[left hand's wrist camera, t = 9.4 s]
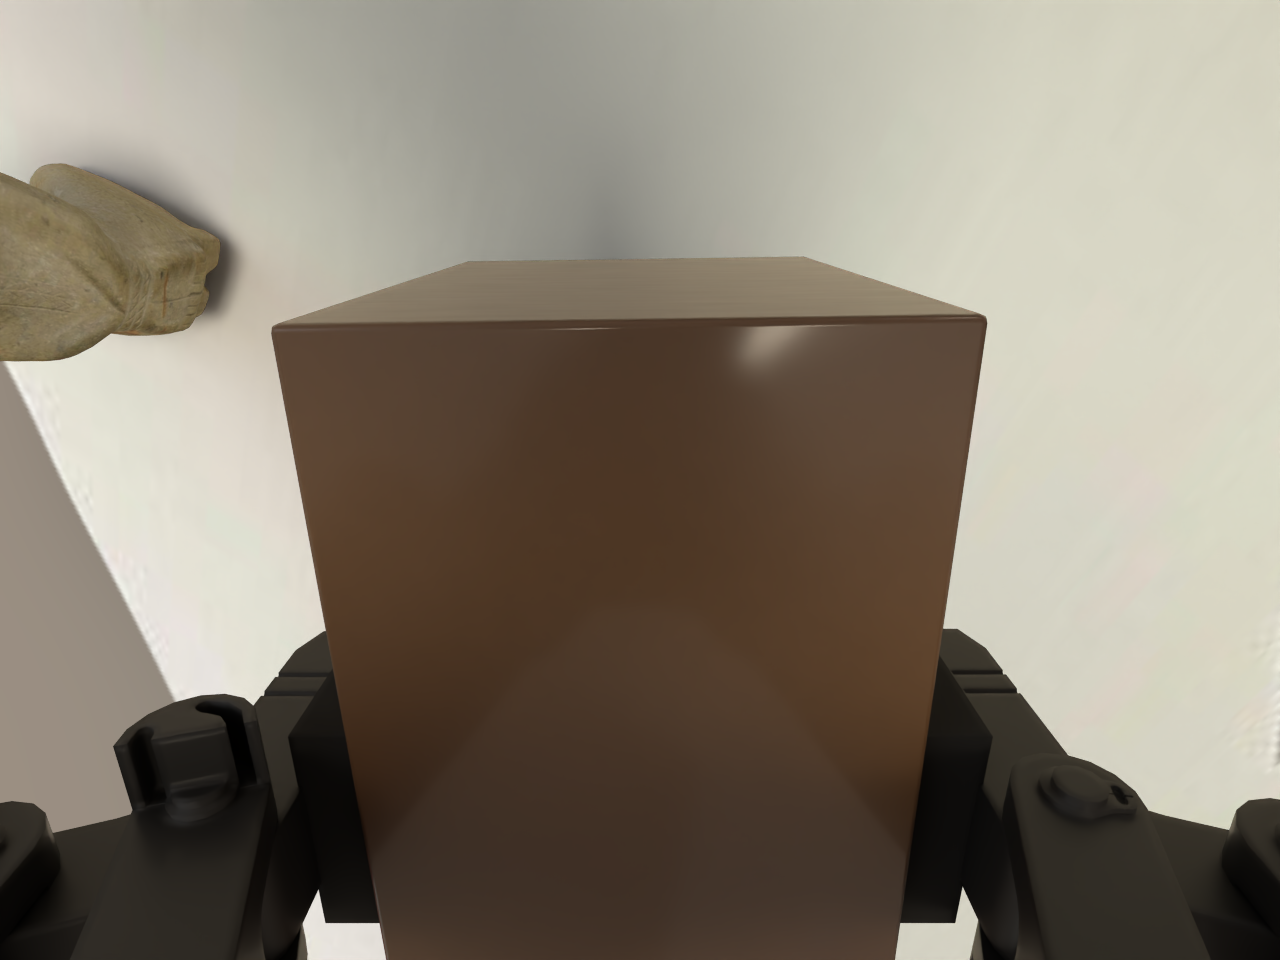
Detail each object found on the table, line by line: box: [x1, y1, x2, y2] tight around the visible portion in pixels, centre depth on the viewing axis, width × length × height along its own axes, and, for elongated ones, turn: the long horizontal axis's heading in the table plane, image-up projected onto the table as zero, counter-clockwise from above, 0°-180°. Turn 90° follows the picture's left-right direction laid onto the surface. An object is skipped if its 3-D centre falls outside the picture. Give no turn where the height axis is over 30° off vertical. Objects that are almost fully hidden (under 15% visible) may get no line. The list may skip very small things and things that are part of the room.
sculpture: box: [0, 164, 220, 361], centre depth 23 cm, size 6×7×15 cm
